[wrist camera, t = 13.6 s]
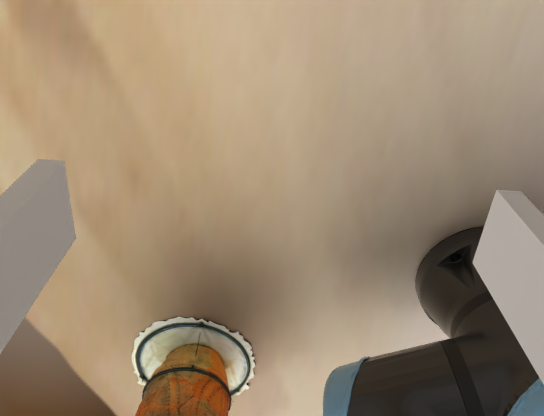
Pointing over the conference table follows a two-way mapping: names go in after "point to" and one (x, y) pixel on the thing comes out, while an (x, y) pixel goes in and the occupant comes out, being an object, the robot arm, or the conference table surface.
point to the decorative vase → (190, 368)
